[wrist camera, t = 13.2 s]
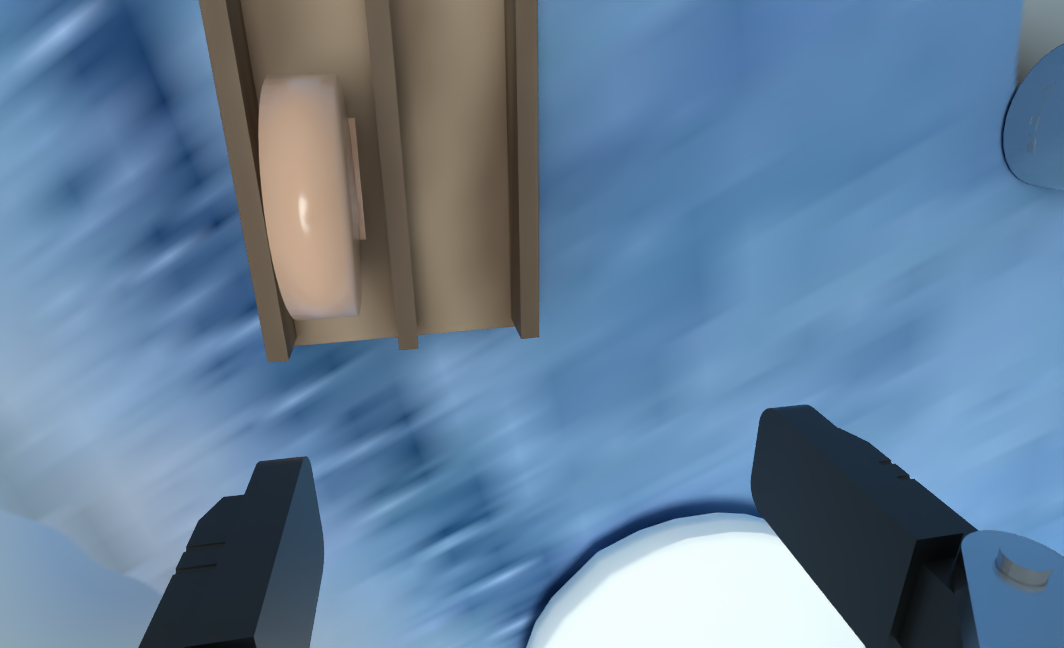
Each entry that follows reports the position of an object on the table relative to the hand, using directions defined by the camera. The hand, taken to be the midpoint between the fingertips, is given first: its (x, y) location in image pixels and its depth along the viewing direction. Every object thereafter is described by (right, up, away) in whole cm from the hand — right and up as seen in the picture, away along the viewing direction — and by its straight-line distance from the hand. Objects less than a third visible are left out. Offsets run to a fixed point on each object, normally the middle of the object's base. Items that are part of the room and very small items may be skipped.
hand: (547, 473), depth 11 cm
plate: (+12, -23, +41) cm, 48 cm away
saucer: (-10, +10, +20) cm, 25 cm away
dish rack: (-8, +11, +22) cm, 26 cm away
